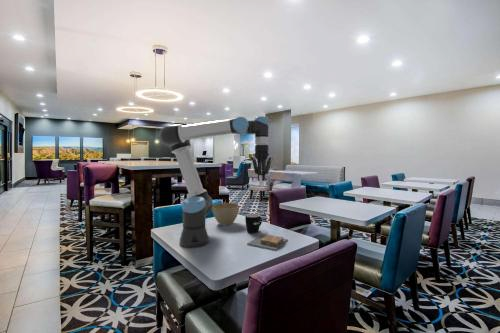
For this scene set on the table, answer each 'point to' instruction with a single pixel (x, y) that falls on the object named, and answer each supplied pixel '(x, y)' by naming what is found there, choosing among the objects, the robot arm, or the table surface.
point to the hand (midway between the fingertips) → (261, 186)
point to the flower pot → (225, 213)
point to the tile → (272, 240)
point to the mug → (253, 222)
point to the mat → (257, 243)
